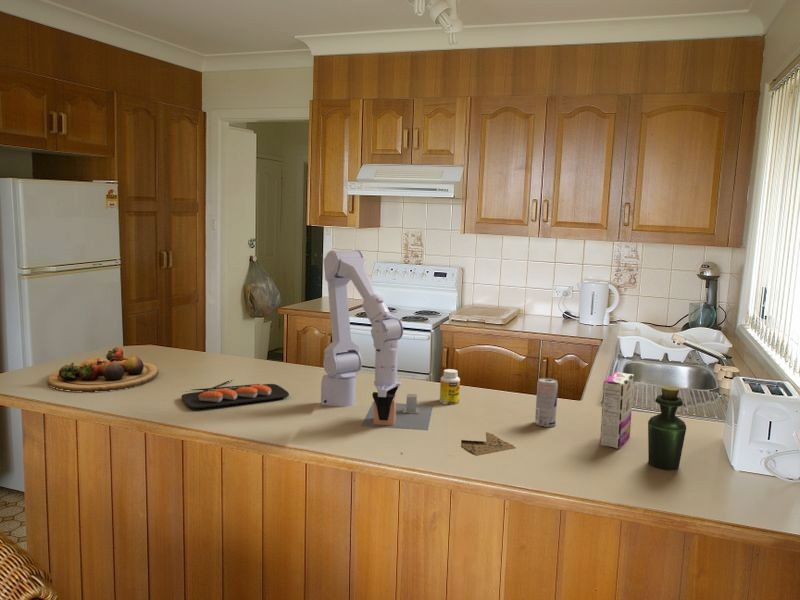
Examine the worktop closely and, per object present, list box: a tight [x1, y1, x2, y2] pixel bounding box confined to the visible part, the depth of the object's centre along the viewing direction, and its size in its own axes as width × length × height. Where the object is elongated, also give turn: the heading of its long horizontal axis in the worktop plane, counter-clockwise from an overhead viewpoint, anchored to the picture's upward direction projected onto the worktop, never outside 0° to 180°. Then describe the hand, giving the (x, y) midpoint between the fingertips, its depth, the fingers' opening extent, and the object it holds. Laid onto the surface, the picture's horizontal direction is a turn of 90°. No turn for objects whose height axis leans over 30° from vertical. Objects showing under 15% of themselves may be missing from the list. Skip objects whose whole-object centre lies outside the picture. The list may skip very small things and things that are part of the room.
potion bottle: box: [647, 385, 687, 471], centre depth 150 cm, size 8×8×18 cm
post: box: [403, 393, 420, 414], centre depth 182 cm, size 4×4×4 cm
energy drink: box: [534, 377, 559, 428], centre depth 176 cm, size 5×5×12 cm
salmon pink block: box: [373, 394, 398, 425], centre depth 172 cm, size 5×5×7 cm
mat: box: [360, 401, 434, 431], centre depth 178 cm, size 17×21×1 cm
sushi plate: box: [180, 380, 290, 409], centre depth 199 cm, size 29×30×4 cm
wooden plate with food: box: [47, 346, 159, 393], centre depth 210 cm, size 32×32×8 cm
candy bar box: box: [599, 371, 635, 450], centre depth 165 cm, size 11×5×16 cm, turn 148°
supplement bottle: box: [439, 368, 461, 406], centre depth 191 cm, size 6×6×10 cm
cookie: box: [460, 431, 516, 457], centre depth 161 cm, size 12×12×1 cm
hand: (384, 416), depth 172 cm, fingers closed on salmon pink block, 5 cm apart
